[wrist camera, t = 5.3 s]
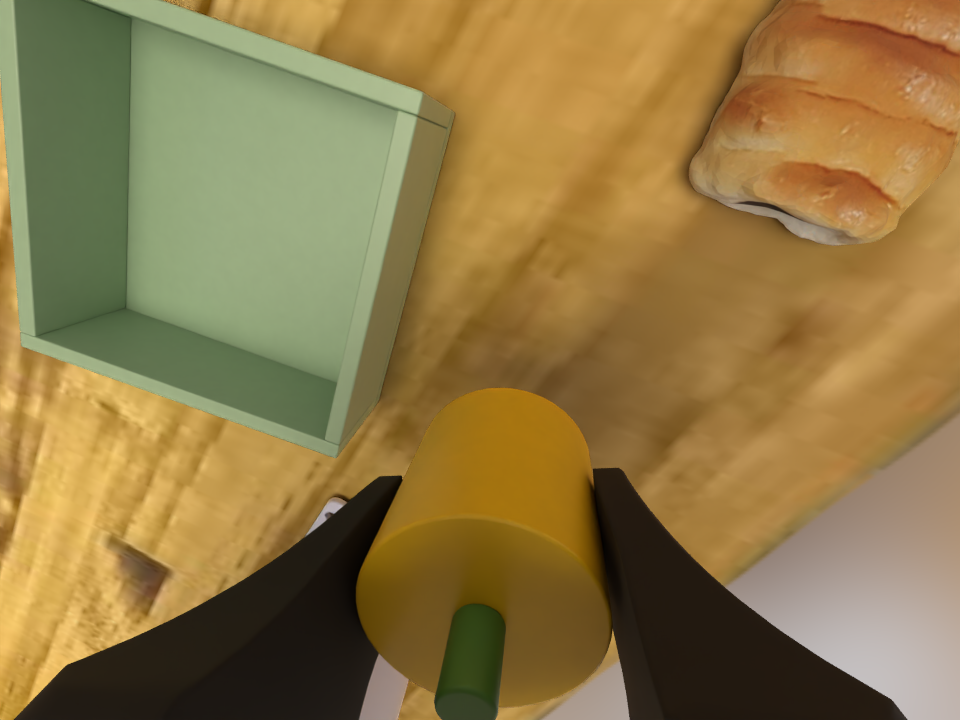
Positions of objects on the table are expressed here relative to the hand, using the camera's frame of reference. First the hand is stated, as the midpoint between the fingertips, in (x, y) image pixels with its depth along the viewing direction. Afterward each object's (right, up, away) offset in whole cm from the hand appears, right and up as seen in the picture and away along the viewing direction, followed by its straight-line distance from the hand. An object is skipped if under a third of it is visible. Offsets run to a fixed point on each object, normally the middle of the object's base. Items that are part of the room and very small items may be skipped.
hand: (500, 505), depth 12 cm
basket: (-9, +9, +7) cm, 15 cm away
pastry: (+10, +12, +3) cm, 16 cm away
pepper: (0, +1, +2) cm, 2 cm away
